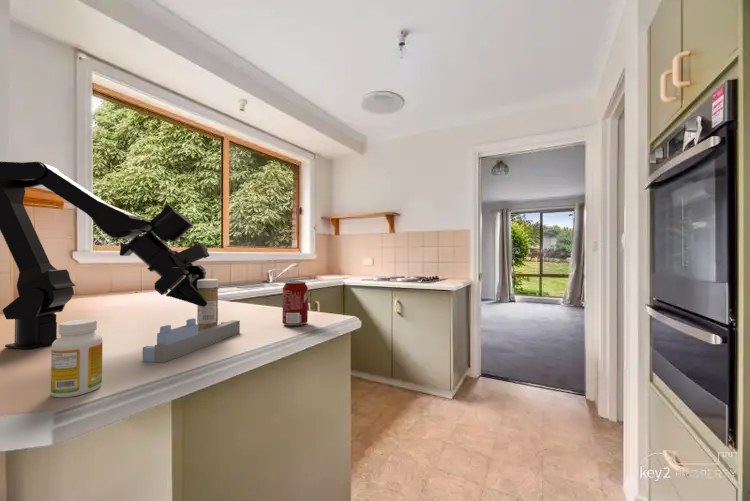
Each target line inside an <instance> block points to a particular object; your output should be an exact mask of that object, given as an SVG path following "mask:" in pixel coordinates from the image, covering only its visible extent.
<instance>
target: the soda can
mask: <svg viewBox="0 0 750 501" xmlns="http://www.w3.org/2000/svg"><path fill="white" fill-rule="evenodd" d="M284 283H285V284H284V285H283V287H282V318H281V319H282V322H281V323H282V324H283V325H285V326H286V327H289V326H298V327H300V326H299V325H303V324H304V325H305V324H307V323H308V319H309V318H308V317H309V316H308V313H309V312H308V311H309V310H308V307H309V306H308V305H309V303H308V302H309V296H308V295H309V287H308V286H307V284H306V281H305V280H286V281H285V282H284ZM304 325H303V326H304Z"/></svg>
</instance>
